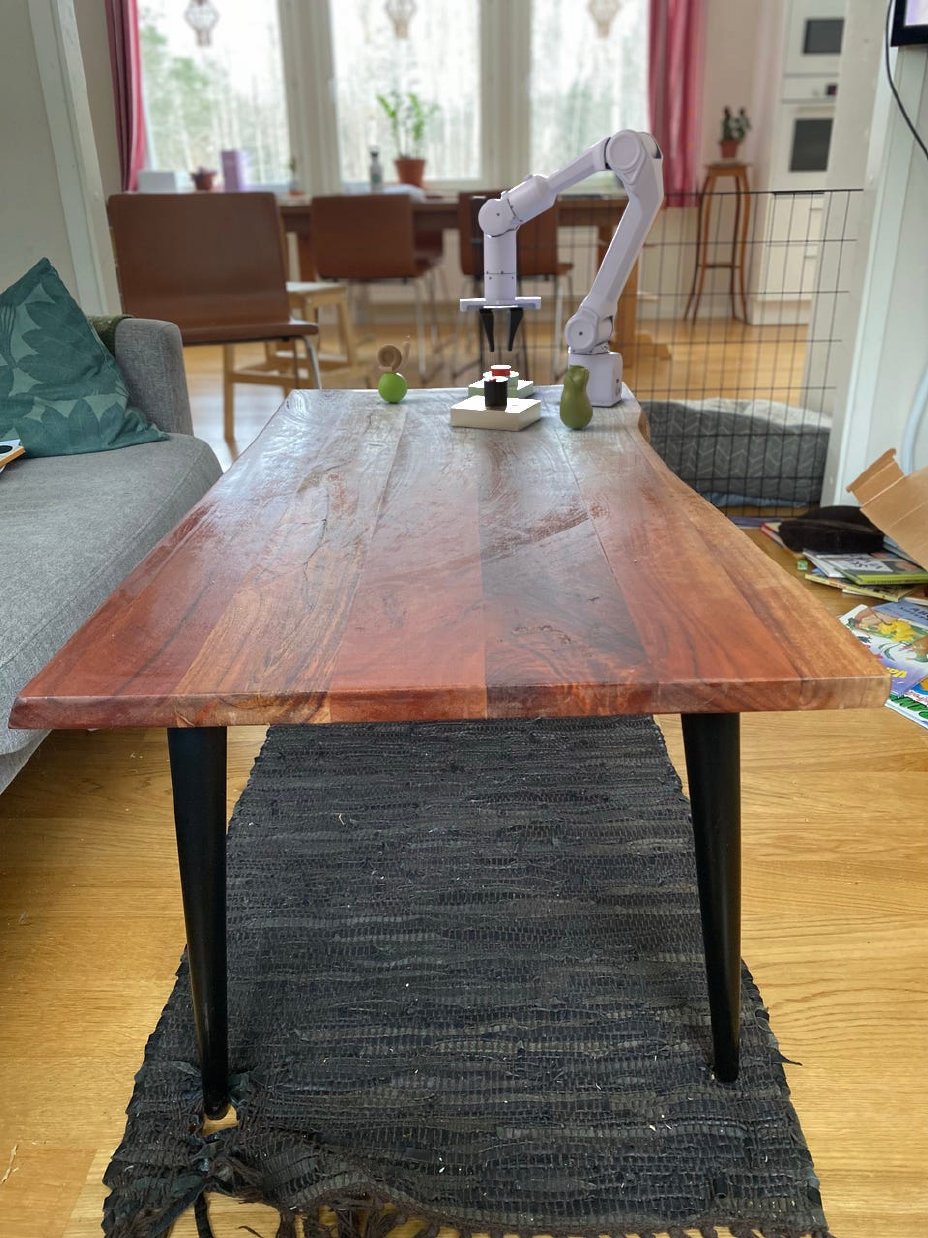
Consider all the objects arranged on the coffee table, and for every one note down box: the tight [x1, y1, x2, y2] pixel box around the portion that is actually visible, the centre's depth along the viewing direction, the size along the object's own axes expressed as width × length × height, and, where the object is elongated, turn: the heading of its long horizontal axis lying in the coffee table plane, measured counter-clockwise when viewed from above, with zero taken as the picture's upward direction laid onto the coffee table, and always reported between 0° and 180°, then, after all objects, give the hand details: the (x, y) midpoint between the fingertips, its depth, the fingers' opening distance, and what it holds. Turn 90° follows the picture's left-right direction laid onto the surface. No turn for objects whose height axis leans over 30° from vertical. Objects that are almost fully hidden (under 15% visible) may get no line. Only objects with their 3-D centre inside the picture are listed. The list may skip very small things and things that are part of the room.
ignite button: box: [490, 364, 512, 376], centre depth 175 cm, size 4×4×2 cm
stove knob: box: [482, 377, 508, 406], centre depth 154 cm, size 4×4×4 cm
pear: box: [559, 365, 594, 430], centre depth 148 cm, size 6×5×10 cm
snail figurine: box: [377, 334, 411, 404], centre depth 170 cm, size 5×6×12 cm
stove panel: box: [449, 396, 541, 432], centre depth 155 cm, size 12×10×3 cm
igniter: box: [467, 371, 534, 399], centre depth 176 cm, size 10×8×4 cm
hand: (500, 350), depth 173 cm, fingers open, 3 cm apart
